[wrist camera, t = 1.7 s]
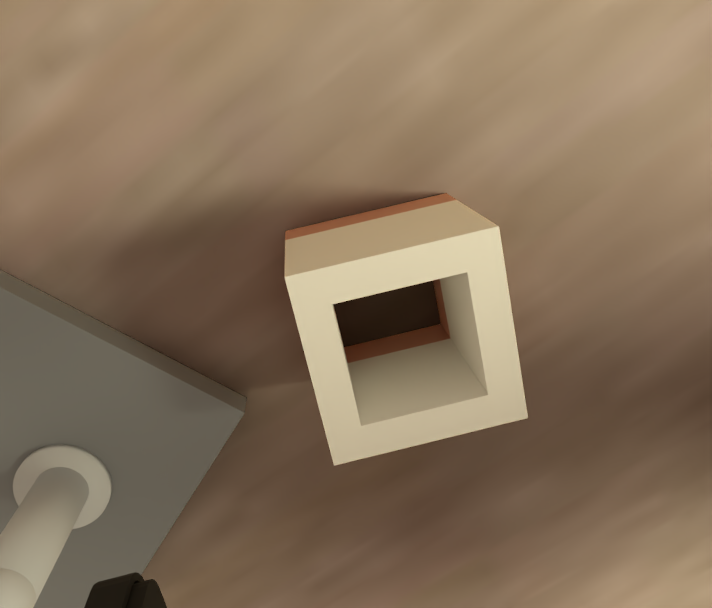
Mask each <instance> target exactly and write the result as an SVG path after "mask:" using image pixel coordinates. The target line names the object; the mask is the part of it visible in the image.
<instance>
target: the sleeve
mask: <svg viewBox="0 0 712 608" xmlns="http://www.w3.org/2000/svg"><path fill="white" fill-rule="evenodd" d="M284 277H285V281H286V285H287V289H288V293H289V296H290V300H291V304H292V308H293V312H294V315H295V319H296V323H297V327H298V331H299V334H300V338H301V342H302V346H303V350H304V353H305V357H306V361H307V365H308V369H309V372H310V376H311V380H312V384H313V388H314V391H315V395H316V399H317V403H318V407H319V410H320V414H321V418H322V422H323V426H324V429H325V433H326V437H327V441H328V445H329V449H330V452H331V456H332V460H333V464H334V466H335V465H339V464H343V463H347V462H351V461H355V460H359V459H363V458H367V457H372V456H376V455H380V454H384V453H388V452H392V451H396V450H400V449H404V448H408V447H412V446H416V445H420V444H424V443H429V442H433V441H437V440H441V439H445V438H449V437H453V436H457V435H461V434H465V433H469V432H473V431H477V430H482V429H486V428H490V427H494V426H498V425H502V424H506V423H510V422H514V421H518V420H522V419H526V418H528V414H527V408H526V401H525V394H524V388H523V381H522V375H521V368H520V362H519V355H518V348H517V342H516V335H515V329H514V322H513V315H512V309H511V302H510V296H509V289H508V283H507V276H506V269H505V263H504V256H503V250H502V243H501V237H500V230H499V226H498V225H496V224H495V223H493V222H491V221H490V220H488V219H487V218H485V217H483V216H482V215H480V214H479V213H477V212H475V211H474V210H472V209H471V208H469V207H467V206H466V205H464V204H463V203H461V202H459V201H458V200H456V199H455V198H453V197H451V196H450V195H448V194H447V193H444V194H440V195H436V196H432V197H427V198H423V199H419V200H415V201H410V202H406V203H402V204H398V205H393V206H389V207H385V208H381V209H376V210H372V211H368V212H364V213H359V214H355V215H351V216H347V217H342V218H338V219H334V220H330V221H325V222H321V223H317V224H313V225H308V226H304V227H300V228H296V229H292V230H287V231H285V273H284ZM428 281H433V285H434V290H435V295H436V300H437V306H438V311H439V316H440V321H441V324H439V325H434V326H430V327H426V328H422V329H418V330H414V331H410V332H405V333H401V334H397V335H393V336H389V337H385V338H381V339H376V340H372V341H368V342H364V343H360V344H356V345H351V346H347V347H344V345H343V341H342V337H341V333H340V329H339V325H338V320H337V316H336V312H335V308H334V304H336V303H341V302H345V301H349V300H353V299H357V298H361V297H366V296H370V295H374V294H378V293H382V292H387V291H391V290H395V289H399V288H403V287H407V286H412V285H416V284H420V283H424V282H428Z"/></svg>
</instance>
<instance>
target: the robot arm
mask: <svg viewBox="0 0 712 608" xmlns="http://www.w3.org/2000/svg"><path fill="white" fill-rule="evenodd" d="M84 608H167V607H166V604H165V602H164V599H163V596H162V594H161V591H160V589H159V586H158V584H157V582H156V581H155V580H153V579H151V580H147V581H144V579H143V577H142V576H141V575H140V574H139V573H136V572H134V573H130V574H127V575H123V576H119V577H115V578H111V579H107V580H103V581H99V582H97V583H95V584H94V585H93V587H92V589H91V591H90V594H89V596H88V599H87V602H86V604H85V607H84Z"/></svg>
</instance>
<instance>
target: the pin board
mask: <svg viewBox="0 0 712 608" xmlns="http://www.w3.org/2000/svg"><path fill="white" fill-rule="evenodd" d="M246 401H247V398H246V397H244V396H242V395H240V394H238V393H236V392H235V391H233V390H231V389H229V388H227V387H225V386H223V385H221V384H219V383H217V382H215V381H213V380H211V379H210V378H208V377H206V376H204V375H202V374H200V373H198V372H196V371H194V370H192V369H190V368H188V367H186V366H185V365H183V364H181V363H179V362H177V361H175V360H173V359H171V358H169V357H167V356H165V355H163V354H162V353H160V352H158V351H156V350H154V349H152V348H150V347H148V346H146V345H144V344H142V343H140V342H138V341H137V340H135V339H133V338H131V337H129V336H127V335H125V334H123V333H121V332H119V331H117V330H115V329H113V328H112V327H110V326H108V325H106V324H104V323H102V322H100V321H98V320H96V319H94V318H92V317H90V316H88V315H87V314H85V313H83V312H81V311H79V310H77V309H75V308H73V307H71V306H69V305H67V304H65V303H63V302H62V301H60V300H58V299H56V298H54V297H52V296H50V295H48V294H46V293H44V292H42V291H40V290H38V289H37V288H35V287H33V286H31V285H29V284H27V283H25V282H23V281H21V280H19V279H17V278H15V277H13V276H12V275H10V274H8V273H6V272H4V271H2V270H0V608H84V607H85V604H86V602H87V599H88V596H89V594H90V591H91V589H92V587H93V585H94V584H95V583H97V582H99V581H103V580H107V579H111V578H115V577H119V576H123V575H127V574H130V573H134V572H136V573H139V574H140V575H141V574H142V573H143V571H144V570H145V568H146V567H147V565H148V563H149V562H150V560H151V559H152V557H153V556H154V554H155V553H156V551H157V549H158V548H159V546H160V545H161V543H162V542H163V540H164V538H165V537H166V535H167V534H168V532H169V531H170V529H171V527H172V526H173V524H174V523H175V521H176V520H177V518H178V517H179V515H180V513H181V512H182V510H183V509H184V507H185V506H186V504H187V502H188V501H189V499H190V498H191V496H192V495H193V493H194V492H195V490H196V488H197V487H198V485H199V484H200V482H201V481H202V479H203V477H204V476H205V474H206V473H207V471H208V470H209V468H210V467H211V465H212V463H213V462H214V460H215V459H216V457H217V456H218V454H219V452H220V451H221V449H222V448H223V446H224V445H225V443H226V442H227V440H228V438H229V437H230V435H231V434H232V432H233V431H234V429H235V427H236V426H237V424H238V423H239V421H240V420H241V418H242V417H243V415H244V413H245V408H246Z"/></svg>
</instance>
